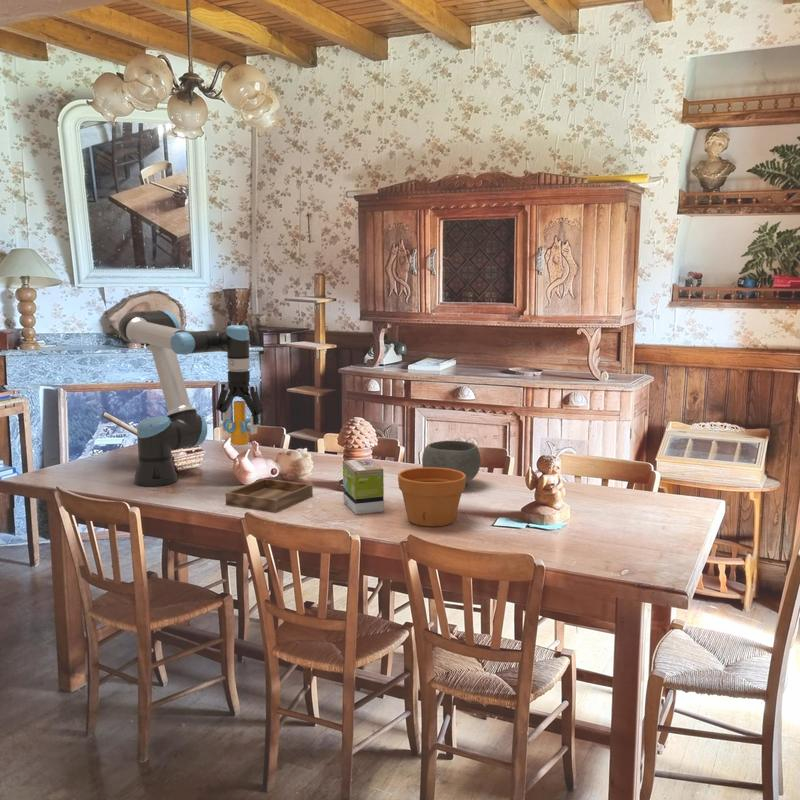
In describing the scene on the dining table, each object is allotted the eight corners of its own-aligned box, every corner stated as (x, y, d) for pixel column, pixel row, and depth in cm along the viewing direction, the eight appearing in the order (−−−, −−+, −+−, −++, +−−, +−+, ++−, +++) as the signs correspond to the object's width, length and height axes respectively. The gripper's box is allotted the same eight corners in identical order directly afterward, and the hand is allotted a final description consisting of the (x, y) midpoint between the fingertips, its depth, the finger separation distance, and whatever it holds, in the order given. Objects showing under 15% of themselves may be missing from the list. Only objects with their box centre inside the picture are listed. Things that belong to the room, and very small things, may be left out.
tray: (226, 504, 278) (225, 492, 277) (264, 489, 297) (264, 478, 297) (276, 512, 269) (275, 500, 269) (312, 496, 289) (312, 484, 288)
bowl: (453, 475, 318) (454, 437, 316) (492, 487, 302) (493, 446, 299) (410, 484, 305) (410, 443, 303) (447, 496, 289) (448, 453, 287)
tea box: (342, 502, 281) (341, 459, 279) (370, 500, 284) (370, 457, 282) (354, 515, 267) (354, 469, 265) (384, 512, 270) (384, 467, 268)
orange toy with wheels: (261, 441, 299) (260, 399, 297) (253, 447, 289) (252, 404, 286) (227, 440, 300) (226, 398, 298) (218, 446, 290) (217, 403, 288)
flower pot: (403, 509, 274) (404, 464, 271) (468, 512, 270) (468, 467, 268) (392, 528, 253) (392, 480, 251) (461, 532, 249) (462, 484, 247)
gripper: (204, 369, 292) (206, 430, 296) (260, 373, 282) (261, 437, 285) (218, 366, 299) (219, 427, 302) (273, 371, 289) (274, 433, 292)
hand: (239, 432), depth 294 cm, fingers closed on orange toy with wheels, 11 cm apart
